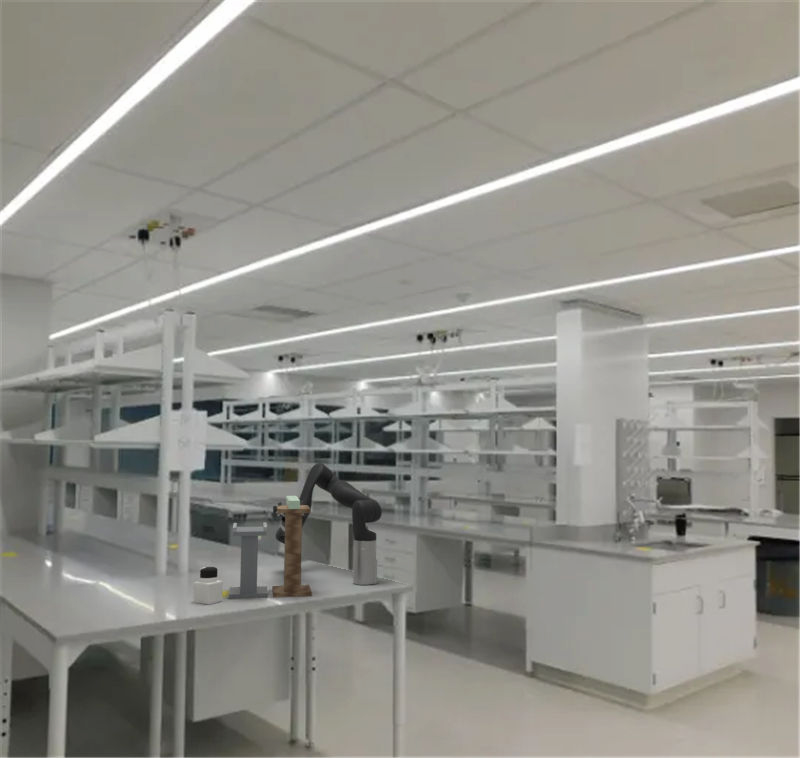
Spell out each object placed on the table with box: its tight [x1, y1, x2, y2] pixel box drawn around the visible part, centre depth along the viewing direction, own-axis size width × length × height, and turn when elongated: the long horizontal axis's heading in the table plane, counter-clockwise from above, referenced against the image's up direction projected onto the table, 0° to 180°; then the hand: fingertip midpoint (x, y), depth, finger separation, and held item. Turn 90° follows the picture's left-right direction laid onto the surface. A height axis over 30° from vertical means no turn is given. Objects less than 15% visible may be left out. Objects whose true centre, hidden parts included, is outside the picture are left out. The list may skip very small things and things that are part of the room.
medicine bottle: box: [193, 566, 223, 606], centre depth 262 cm, size 7×7×12 cm
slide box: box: [285, 495, 300, 509], centre depth 286 cm, size 4×26×3 cm, turn 11°
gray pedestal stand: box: [228, 522, 269, 600], centre depth 276 cm, size 14×16×26 cm
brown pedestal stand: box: [271, 504, 313, 598], centre depth 280 cm, size 14×16×32 cm
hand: (291, 503), depth 295 cm, fingers open, 8 cm apart
